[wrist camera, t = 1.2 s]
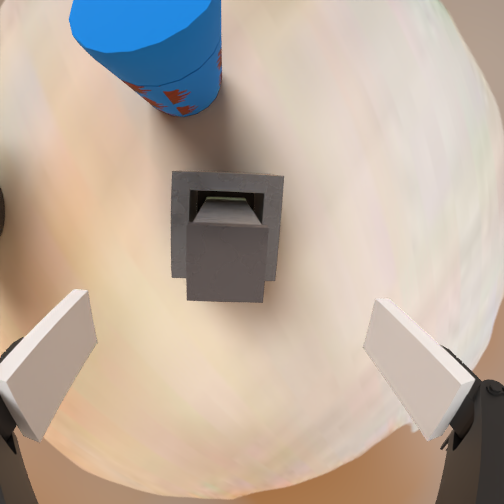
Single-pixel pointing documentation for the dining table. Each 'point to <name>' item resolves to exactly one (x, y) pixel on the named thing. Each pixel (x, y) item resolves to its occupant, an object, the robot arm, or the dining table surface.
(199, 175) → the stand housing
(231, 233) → the column
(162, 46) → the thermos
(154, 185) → the dining table surface
